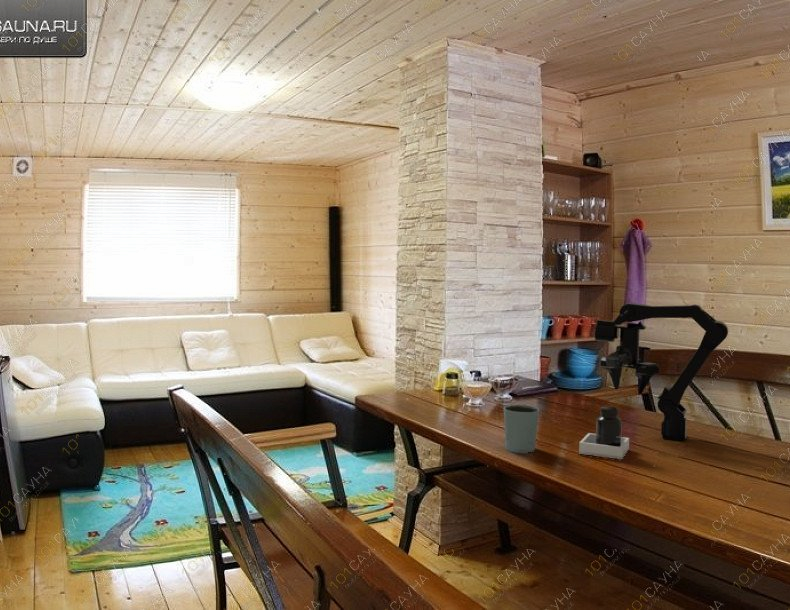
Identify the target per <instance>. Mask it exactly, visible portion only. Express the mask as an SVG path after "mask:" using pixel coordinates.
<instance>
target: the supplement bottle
mask: <svg viewBox="0 0 790 610" xmlns="http://www.w3.org/2000/svg"><path fill="white" fill-rule="evenodd" d="M599 415H600V416H598V417H597V418H596V423H595V425H596V426H595V427H596V429H595V430H596V431H595V434H596V444H601V445H609V446H617V447H620V446H621V437H622V420H621V418H620V417H618V416H619V408H617V407H615V406H614V407H613V406H602V407H600V412H599Z"/></svg>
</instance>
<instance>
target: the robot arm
mask: <svg viewBox="0 0 790 610" xmlns="http://www.w3.org/2000/svg"><path fill="white" fill-rule="evenodd" d="M681 318H682V319H684V318H685V319H686V318H689V319H692V320H693V321H695V322H696V323H697V324H698V326H700V327H701V329H703V330H704V331H705V332H704V335H703V337H702V340H701V342H700V344H699V347H698V348H697V349H696V351H695V352H694V353H693V355H692V357H691V358H690V360H689V361H688V363H687V364H686V365H685V367H684V369H683V370H682V372H680V375H679V376H678V377H677V379H676V381H675V382H674V383H673V384H671V386H670V385H669V384H666V385H665V386H664V388H663V390H662V392H661V393H659V394H658V397H657V399H658V401H657V408H658V410H659V411H660V412H661V413H662V414H663V416H664V417H663V420H662V421H661V432H660V433H661V437H662V438H661V439H663V438H668V439H667V440H671V439H672V440H673V439H674V441H679V440H682V441H681V442H686V440H685V439H687V437H688V435H687V417H685V415H686V413H687V408H685V407H684V406H683V405H682V403H681V402H682V398H683V396H684V394H685V392H686V390H687V389H688V387H689V386H690V384H691V382H692V381H693V380H694V378H695V377H696V376H697V374H698V372H699V371H700V369H701V368H702V367H703V365H704V363H705V362H706V360H707V359H708V358H709V356H710V354H711V353H712V352H714V351H715V350H716V349H717V348H718V347H719V346H720V345H721V344H722V342H724V341H725V340H726V339H727V336H729V334H728V333H729V328H728V325H727V324H726V323H725V322H723V321H721V320H716V318H714V317H713V316H712V315H711V314H709V313H708V312H707V311H705V310H704V309H703V308H702V307H701V306H700V305H698V304H690V305H689V304H686V305H683V304H682V305H648V304H643V303H636V302H629V303H625V304H623V305H622V306H621V307H620V309H619V314H618V316H617V317H616V318H615V319H614V320H604V319H598V320H596V326H595V330H594V339H595V341H596V342H611V343H614V342H615V341H616V340H618V339H619V345H616V348H615V351H613V352H611V353H610V354H608V355H606V356H603V357H602V358H601V359H600V361H599V363H600V364H599V365H600V366H601V367H603V369H604V370H605V371H607V373H608V374H609V375H610V378H611V381H612V385H613V387H614V390H619V386H620V384H621V383H620V382H621V377H622V371H623V370H622V369H623V368H627V369H628V368H629V369H633V370H636V372H635V373H634V374H635V376H636V377H637V394H638V395H639V396H640V395H642V394H643V392H644V390H645V389H646V387H647V385H648V383H649V381H650V380H651V379H652V377H653V376H656V374H658V373H660V366H659V365H658V363H654V362H649V361H647V362H642V359H640V358H639V357H640V356H639V355H640V353H639V352H640V350H642V348H643V347H642V345H640V330H642V331H643V330H645V329H647V326H646V325H645V324H644V323H643V320H648V319H681ZM633 322H634V323H633ZM635 322H638V323H635ZM624 323H627V324H626V325H622V324H624Z"/></svg>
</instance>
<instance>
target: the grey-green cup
mask: <svg viewBox="0 0 790 610" xmlns="http://www.w3.org/2000/svg"><path fill="white" fill-rule="evenodd" d="M539 417H540V408H538V407H536V406H533V405H525V404H509V405H505V406H504V407H503V419H504V420H503V421H504V447H505V450H506V451H507V450H508V452H510V453H514V452H515V453H514V454H529V453H528V452H531V453H533V452H535V451H536V443H537V440H536V439H537V433H538V424H539ZM534 450H535V451H534ZM532 451H533V452H532Z"/></svg>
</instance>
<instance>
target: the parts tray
mask: <svg viewBox="0 0 790 610" xmlns="http://www.w3.org/2000/svg"><path fill="white" fill-rule="evenodd" d="M578 444H579V445H578V455H579V454H585V455H594V456H602V457H609V458H617V459H623V460H624V458H625V457H624V456H626V455H627V454H626V453H628V452H629V451H628V450H630V438H629V437H624V436H623V437H622V436H621V446H620V447H617V446H609V445H601V444H596V433H592V432H588V433H587V434H586V435H585V436H584V437H583V438H582V439H581V440H580V441H579V443H578ZM627 451H628V452H627ZM625 454H626V455H625ZM585 455H584V456H585ZM623 457H624V458H623Z"/></svg>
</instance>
